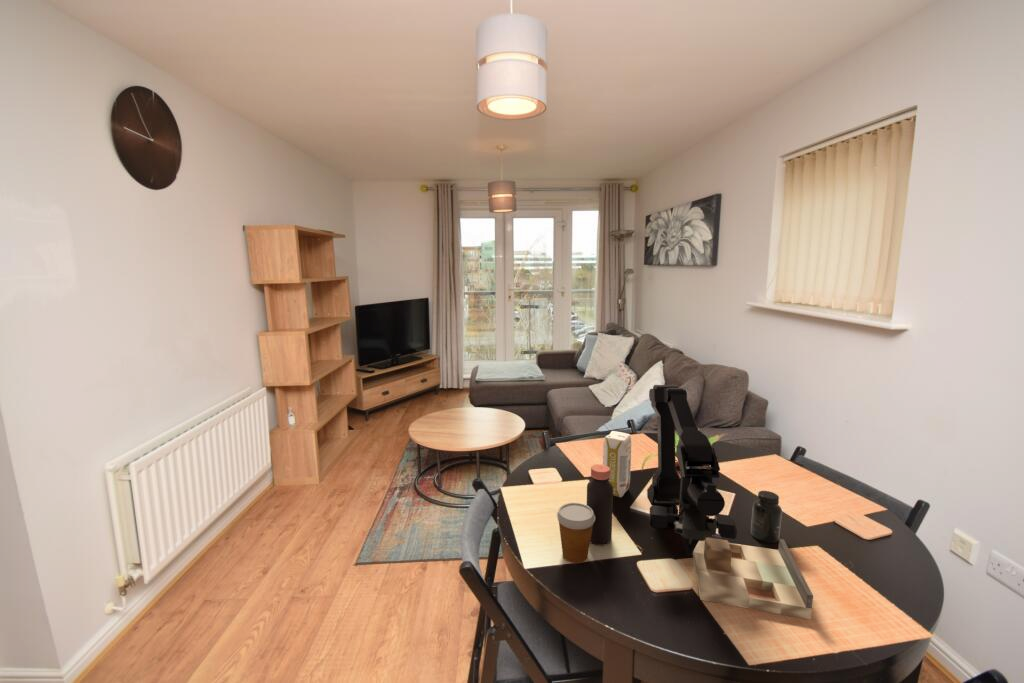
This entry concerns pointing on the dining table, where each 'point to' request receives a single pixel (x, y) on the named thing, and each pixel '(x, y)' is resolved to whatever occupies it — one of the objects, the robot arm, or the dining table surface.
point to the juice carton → (618, 460)
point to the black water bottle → (600, 504)
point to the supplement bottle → (766, 517)
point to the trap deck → (756, 580)
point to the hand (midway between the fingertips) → (689, 554)
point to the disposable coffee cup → (575, 531)
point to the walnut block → (717, 555)
